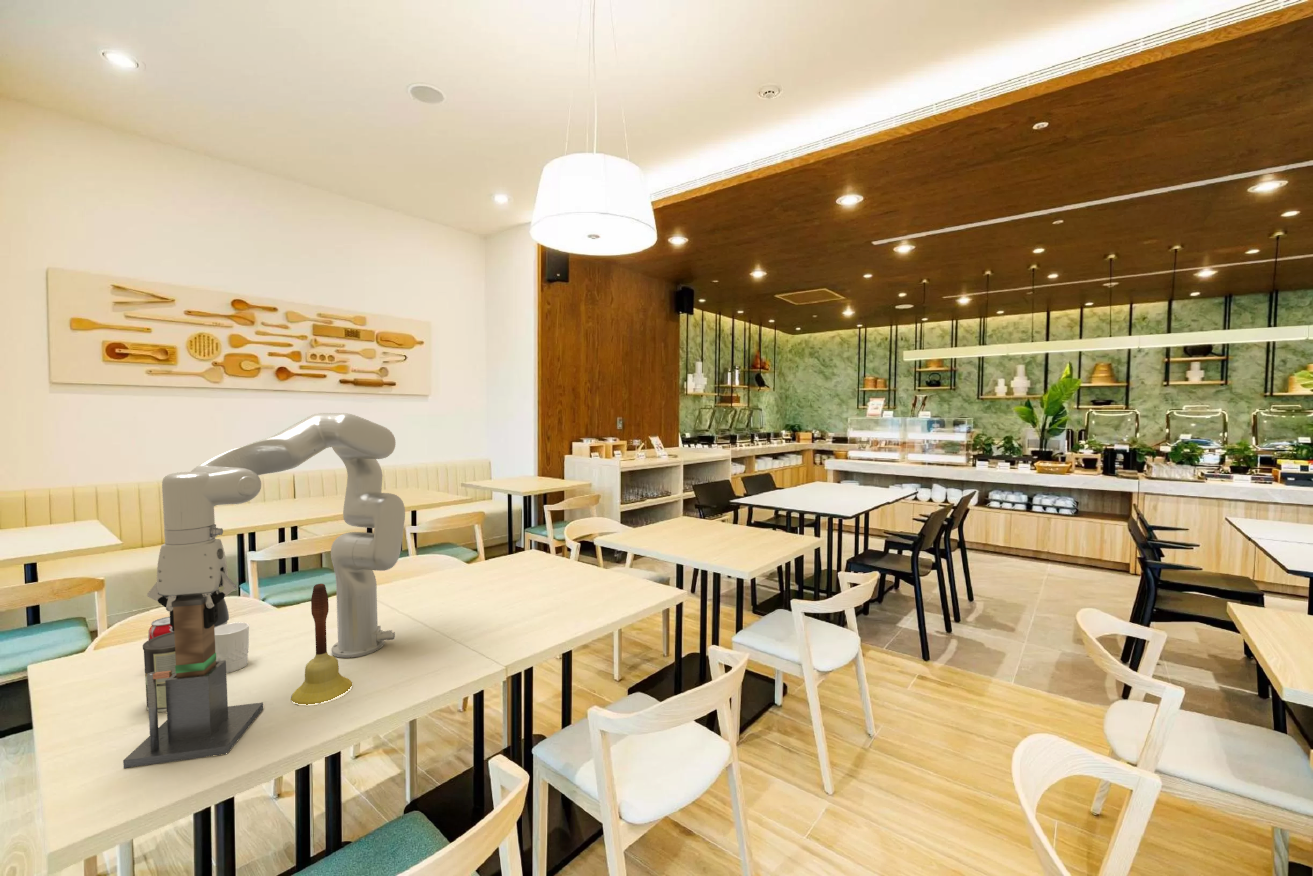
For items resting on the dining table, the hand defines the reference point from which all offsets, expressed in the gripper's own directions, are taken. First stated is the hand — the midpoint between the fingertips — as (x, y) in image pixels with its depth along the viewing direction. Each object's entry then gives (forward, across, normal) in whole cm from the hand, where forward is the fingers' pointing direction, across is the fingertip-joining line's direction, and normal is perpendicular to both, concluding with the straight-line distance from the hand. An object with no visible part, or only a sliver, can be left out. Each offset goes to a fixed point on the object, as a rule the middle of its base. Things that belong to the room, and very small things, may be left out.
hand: (194, 626), depth 108 cm
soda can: (+23, +23, -36) cm, 48 cm away
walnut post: (+13, 0, 0) cm, 13 cm away
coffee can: (+23, +12, -17) cm, 31 cm away
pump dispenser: (+23, +24, -56) cm, 65 cm away
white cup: (+23, +8, -32) cm, 40 cm away
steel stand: (+22, 0, 0) cm, 22 cm away
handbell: (+23, -18, -13) cm, 32 cm away
